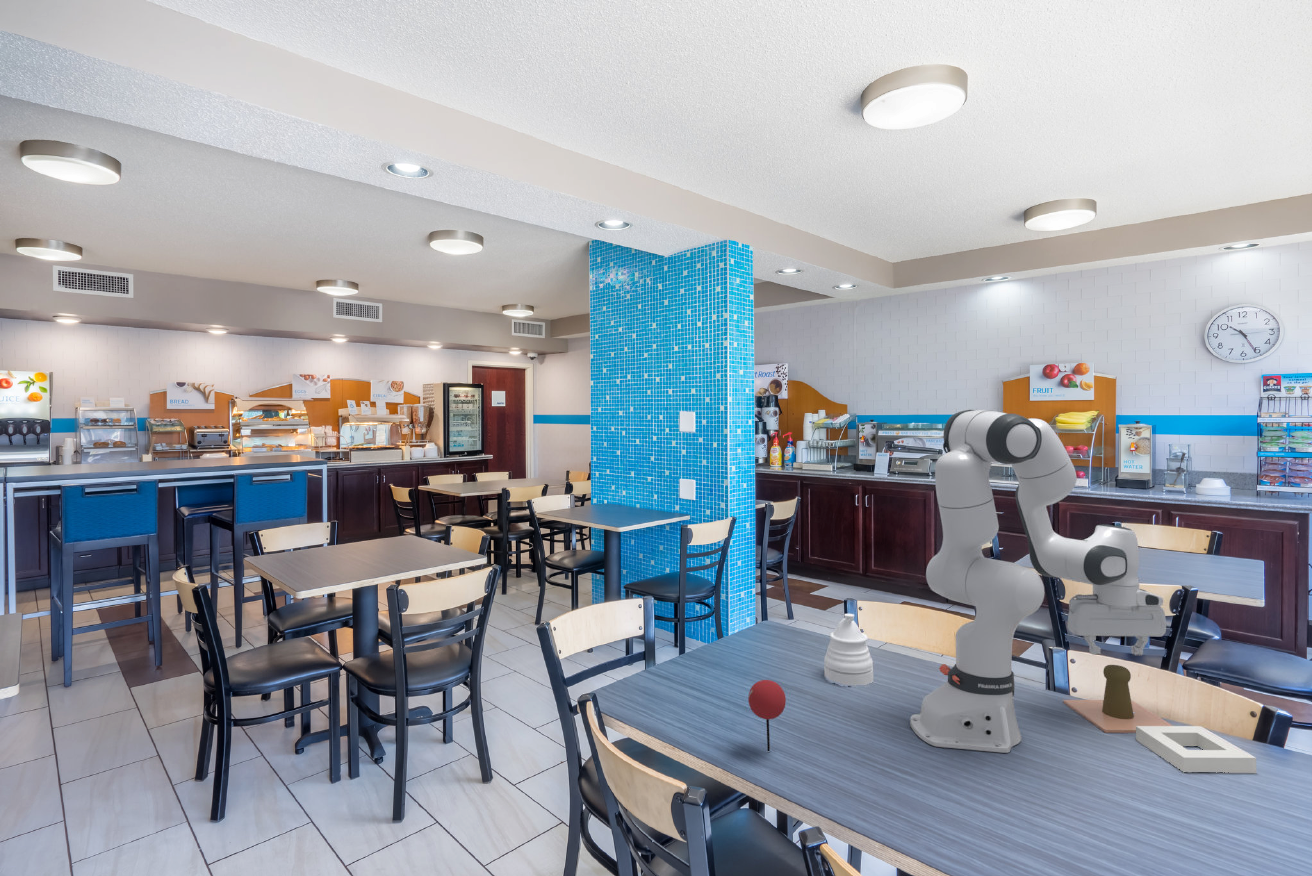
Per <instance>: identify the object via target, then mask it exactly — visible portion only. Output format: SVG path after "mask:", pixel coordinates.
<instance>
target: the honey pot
mask: <svg viewBox="0 0 1312 876" xmlns="http://www.w3.org/2000/svg"><path fill="white" fill-rule="evenodd" d="M854 618H855V614H854V613H844V617H843V618H842V619H841V620H840V621H839V622H838V623H837V625H836V627H835V629H834V631H832V632H830V634H829V638H830V641H829V643H828V645H827V650H826V651H825V652H826V653H825V655H824V658H823V659H824V662H823V663H824V665H823V666H824V668H823V669H824V677H825V676H826V677H827V678H828V679H829V680H831V681H834V682H837V683H841V684H844V685H854V686H856V685H867V684H869V683H872V682H873V683H874V668H873V667H874V661H873V658H872V656H871V653H870V651H869V650H870V649H869V646H867V641H868V640H869V637H868V635H867V634H866V633H863V632H862V631H861V629H860V628H859V625H858V624H857V623H856V621H855V620H854ZM873 683H872V684H873Z"/></svg>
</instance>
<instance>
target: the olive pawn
mask: <svg viewBox="0 0 1312 876" xmlns="http://www.w3.org/2000/svg"><path fill="white" fill-rule="evenodd" d="M1102 671H1103V676H1104V678H1105V679H1106V680H1105V688H1104V693H1103V694H1104V695H1103V699H1102V700H1103V707H1102V712H1103V713H1104V714H1106V715H1108V716H1111V717H1114V718H1119V719H1132V718H1134V714H1133V709H1132V703H1131V701H1132V699H1131V692H1130V687H1129V683H1130V681H1131V678H1132V676H1131V675H1132V674H1131V672H1130V670H1129V669H1128V668H1127V667H1125V666H1122V665H1119V664H1107V665H1105V666H1104V668H1103V670H1102Z"/></svg>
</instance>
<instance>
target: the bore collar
mask: <svg viewBox="0 0 1312 876" xmlns="http://www.w3.org/2000/svg"><path fill="white" fill-rule="evenodd" d="M1135 740H1136V741H1137V742H1138V743H1140V744H1141V745H1143V747H1146V748H1147V749H1149V750H1150V751H1151V752H1153V753H1154V754H1156V755H1158V756H1159V757H1160V756H1161V757H1160V758H1161V759H1163V758H1164V759H1163V760H1165V762H1168V763H1169V762H1170V763H1171V765H1172V766H1173V765H1174V766H1173V767H1175V768H1176V767H1177V768H1176V769H1177V770H1179V769H1180V770H1179V771H1180V772H1182V771H1183V772H1182V773H1184V772H1216V773H1215V774H1218V773H1217V772H1223V773H1222V774H1257V757H1256V756H1254V755H1252V754H1250V753H1249V752H1247V751H1246V750H1244V749H1241V748H1240V747H1239V746H1236V745H1235V744H1233V743H1231V742H1229V741H1228V740H1226V739H1224V738H1222V737H1221V736H1219V735H1217V734H1215V733H1214V732H1211V731H1209V730H1208V729H1207V728H1204V727H1203V726H1201V725H1199V726H1198V725H1173V726H1136V733H1135ZM1183 746H1199V747H1201V748H1202V749H1204V750H1202V749H1187V747H1183ZM1170 763H1169V764H1170ZM1224 772H1225V773H1224ZM1228 772H1229V773H1228Z"/></svg>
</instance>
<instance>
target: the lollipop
mask: <svg viewBox="0 0 1312 876" xmlns="http://www.w3.org/2000/svg"><path fill="white" fill-rule="evenodd" d="M786 698H787V697H786V693H785V691H784V689H783V688H782V686H781V685H779V683H778V682H776V681H773V680H769V679H761V680H759V681H756V682H755V683H754V684H753V685H752V686H751V687H750V689H749V692H748V696H747V699H748V701H747V702H748V705H749V707H750V710H751V712H752V713H753V714H754V715H755V716H756V717H759V718H760V719H763V720H766V740H767V741H766V742H767V744H766V745H767V747H766V748H767V751H770V752H771V749H770V747H771V745H770V744H771V743H770V720H773V719H776V718H778V717H779V716H780V715H781V714H782V713H783V712H784V711H785V710H784V709H785V707H786V703H787V702H786V701H787V699H786Z"/></svg>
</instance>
